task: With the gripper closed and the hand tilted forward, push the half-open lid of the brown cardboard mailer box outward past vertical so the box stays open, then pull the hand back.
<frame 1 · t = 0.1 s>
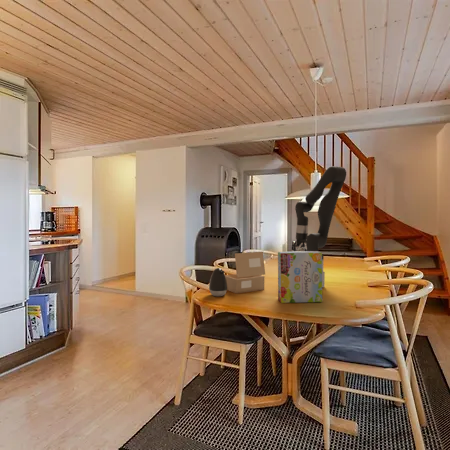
hand: (300, 256, 218), 17 cm above the table, tool pointing down, fingers open, 8 cm apart
mailer box: (243, 289, 199), on the table
snack box: (299, 301, 173), on the table
lid: (250, 264, 193), point 16 cm above the table, hinge at 80.0°
dark grey egg shape: (218, 295, 184), on the table
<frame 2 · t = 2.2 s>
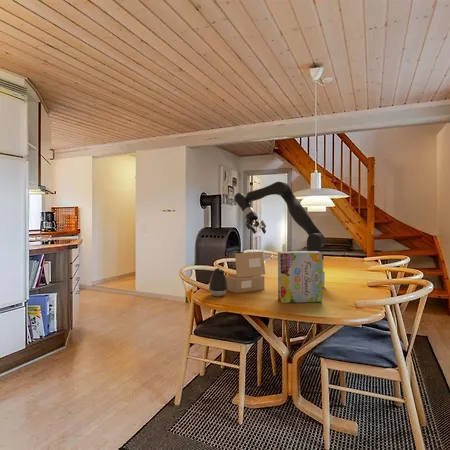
hand: (260, 232, 220), 33 cm above the table, tool tilted 45°, fingers open, 7 cm apart
nothing on the table moved.
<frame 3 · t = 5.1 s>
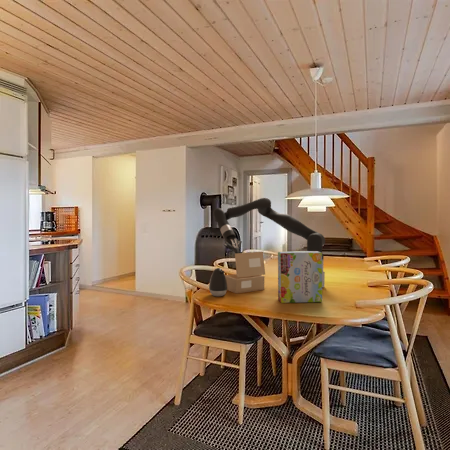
hand: (238, 253, 204), 21 cm above the table, tool tilted 45°, fingers closed
nothing on the table moved.
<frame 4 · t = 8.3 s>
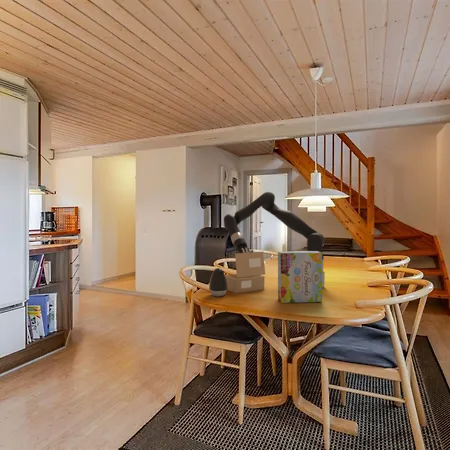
hand: (249, 264, 194), 16 cm above the table, tool tilted 45°, fingers closed
lid: (250, 264, 193), point 16 cm above the table, hinge at 81.4°, touching gripper
everything else where it was.
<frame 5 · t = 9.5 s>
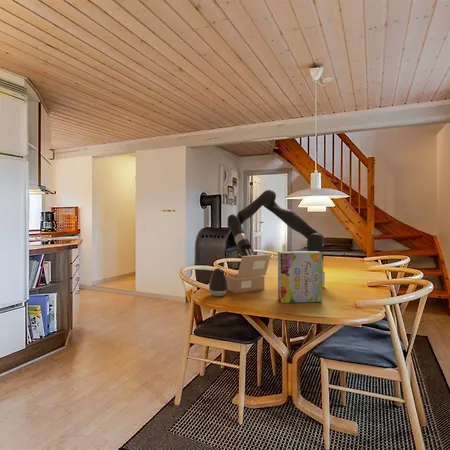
hand: (253, 265, 191), 15 cm above the table, tool tilted 45°, fingers closed
lid: (254, 266, 190), point 15 cm above the table, hinge at 110.7°, touching gripper
everything else where it was.
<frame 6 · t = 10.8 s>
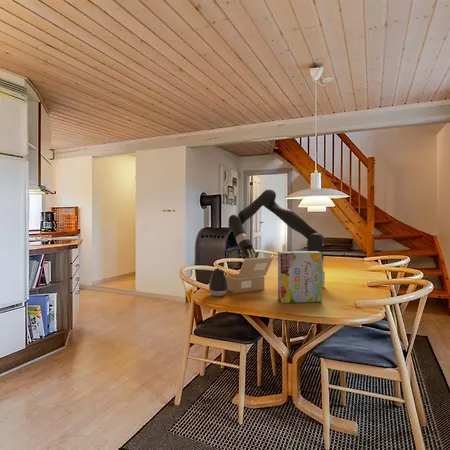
hand: (255, 266, 189), 15 cm above the table, tool tilted 45°, fingers closed
lid: (255, 267, 189), point 15 cm above the table, hinge at 121.9°, touching gripper
everything else where it was.
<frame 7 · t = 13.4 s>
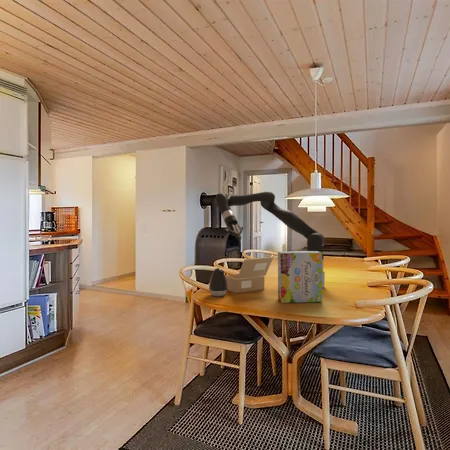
hand: (239, 239, 204), 29 cm above the table, tool tilted 45°, fingers closed
lid: (255, 267, 189), point 15 cm above the table, hinge at 122.0°
everything else where it was.
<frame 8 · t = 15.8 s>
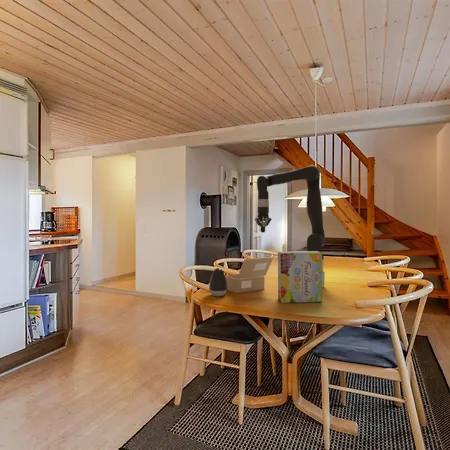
hand: (263, 232, 220), 33 cm above the table, tool pointing down, fingers closed
nothing on the table moved.
at the end: lid at +122° (first picture: +80°) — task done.
